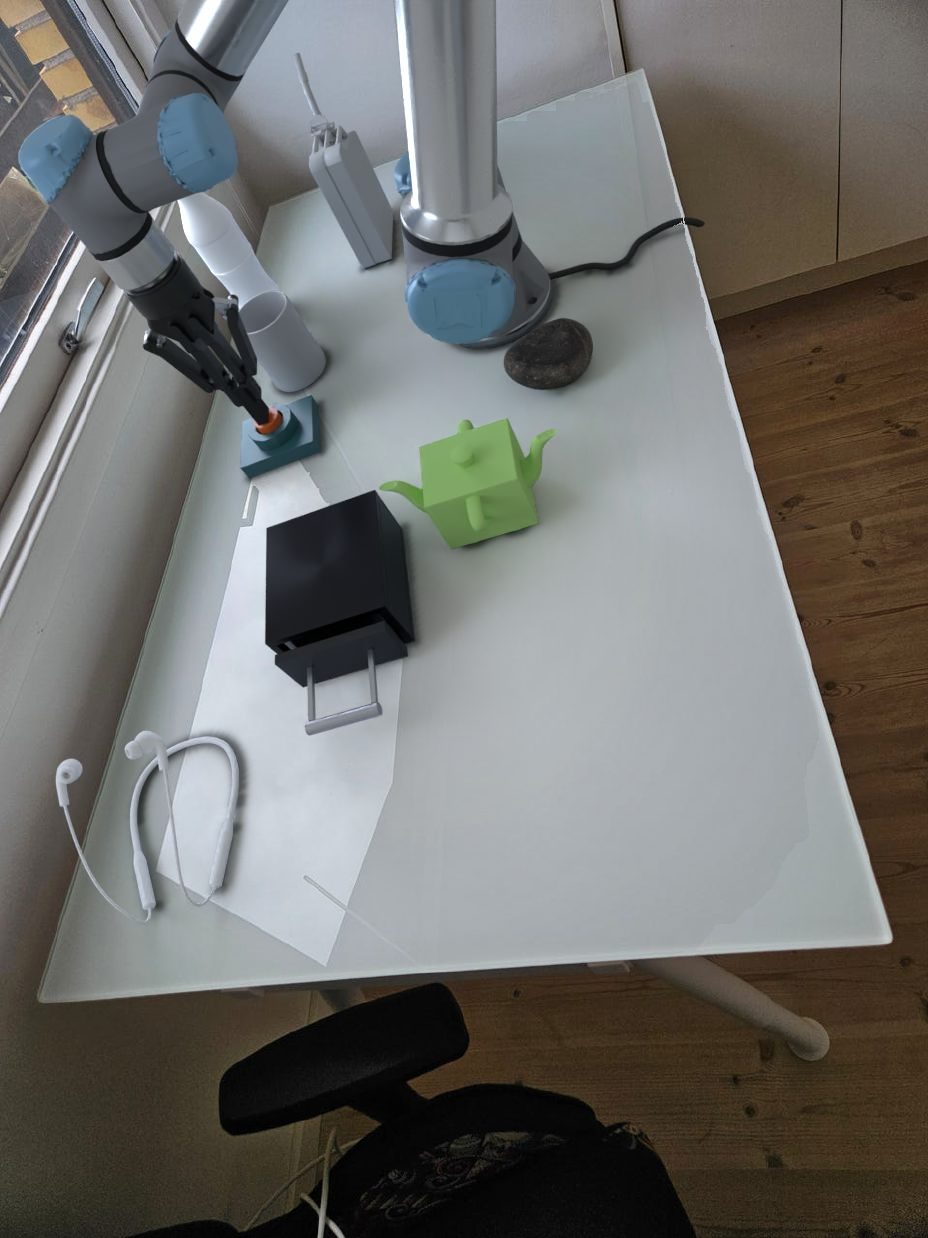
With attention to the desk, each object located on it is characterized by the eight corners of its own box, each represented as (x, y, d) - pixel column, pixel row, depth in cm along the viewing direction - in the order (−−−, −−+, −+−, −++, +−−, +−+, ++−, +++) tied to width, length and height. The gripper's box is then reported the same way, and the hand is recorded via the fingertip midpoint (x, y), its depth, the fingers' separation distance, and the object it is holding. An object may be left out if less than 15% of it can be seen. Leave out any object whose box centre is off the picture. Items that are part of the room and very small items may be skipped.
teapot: (578, 485, 91) (554, 421, 82) (515, 580, 87) (483, 523, 79) (473, 451, 99) (441, 389, 90) (411, 536, 96) (372, 481, 87)
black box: (415, 641, 88) (385, 605, 82) (302, 675, 91) (264, 644, 85) (403, 529, 97) (375, 489, 90) (300, 563, 100) (266, 527, 93)
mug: (323, 384, 115) (283, 325, 106) (271, 398, 118) (227, 341, 109) (332, 326, 121) (295, 265, 112) (282, 341, 124) (242, 282, 115)
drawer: (414, 721, 82) (390, 698, 77) (304, 752, 85) (274, 731, 80) (397, 548, 94) (375, 519, 89) (301, 580, 97) (275, 553, 92)
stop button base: (319, 405, 113) (305, 385, 110) (321, 451, 108) (306, 431, 105) (250, 431, 116) (234, 412, 113) (249, 478, 111) (232, 459, 108)
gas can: (365, 212, 134) (287, 54, 113) (393, 202, 132) (318, 39, 112) (362, 271, 126) (277, 112, 106) (391, 260, 124) (311, 97, 104)
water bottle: (299, 301, 128) (204, 151, 107) (282, 334, 125) (180, 186, 105) (264, 304, 131) (164, 158, 111) (246, 336, 128) (140, 193, 108)
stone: (515, 344, 105) (504, 314, 101) (597, 327, 102) (589, 295, 98) (510, 410, 100) (498, 381, 96) (596, 393, 96) (587, 362, 92)
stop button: (284, 412, 110) (277, 403, 109) (284, 431, 108) (277, 422, 107) (261, 421, 111) (254, 413, 110) (260, 440, 109) (253, 431, 108)
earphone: (100, 948, 78) (23, 778, 77) (183, 869, 95) (120, 728, 93) (222, 909, 76) (146, 733, 74) (285, 835, 92) (224, 689, 90)
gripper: (201, 227, 90) (307, 380, 109) (103, 271, 92) (222, 413, 112) (198, 267, 85) (308, 420, 105) (95, 312, 88) (220, 453, 107)
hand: (263, 416), depth 108 cm, fingers closed
